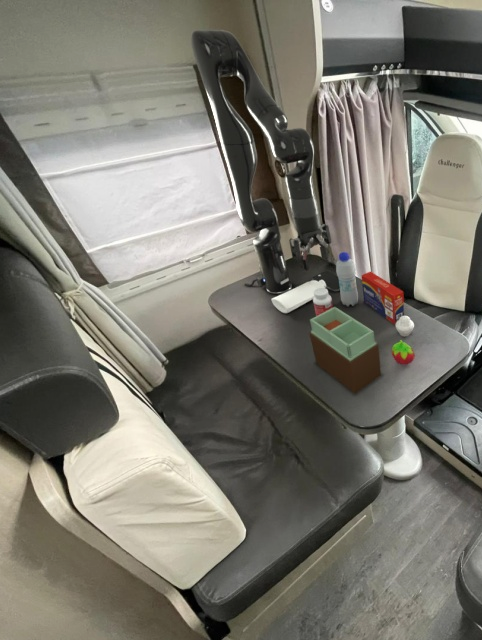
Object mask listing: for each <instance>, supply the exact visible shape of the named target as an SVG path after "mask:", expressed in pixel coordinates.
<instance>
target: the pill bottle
mask: <svg viewBox="0 0 482 640" xmlns="http://www.w3.org/2000/svg"><path fill="white" fill-rule="evenodd" d="M314 296H315V297H314V298H313V299H312V302H313V306H314V311H315V312H314V313H315V317H316V316H318V315H320V314H322V313H324V312H326V311H327V310H329V309H331V308H333V307H334V305H333V299H332V296H331V295H330V294H329V289H328V288H318V289H316V290H315V291H314Z"/></svg>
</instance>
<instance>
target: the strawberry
mask: <svg viewBox="0 0 482 640" xmlns="http://www.w3.org/2000/svg"><path fill="white" fill-rule="evenodd" d="M391 355H392V358H393V360H394V361H395V362H396V363H397V364H399V365H402V366H403V365H404V366H407V365H409V364H411V363H412V362H413V361H414V359H415V352H414V350H413V348H412V347H411V346H410V345H409V344H407V343H406V342H405V341H404V342H403V340H401V339H400V340H399V342H396V343H394V344H393V345H392V348H391Z"/></svg>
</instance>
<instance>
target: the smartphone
mask: <svg viewBox="0 0 482 640" xmlns="http://www.w3.org/2000/svg"><path fill="white" fill-rule="evenodd" d="M313 280H315V281H318V282H319V281H320V280H324V282H325V283H326V289H327V290H330V291H332V292H340V285H339V279H338V276H337V275H334V274H332V273H330V272H328V271H323V272H321V273H319V274H317V275H314V276H313V277H312V278H311V281H313Z"/></svg>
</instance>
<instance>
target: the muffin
mask: <svg viewBox="0 0 482 640" xmlns="http://www.w3.org/2000/svg"><path fill="white" fill-rule="evenodd" d="M394 326H395V329H396V331H397V332H398V334H399V335H400V336H402V337H408V336H409V335H411V333H412V332H413V330H414V328H415V323H414V321H413V320H412V319H411V318H410V316H408V315H404V316H401V317H400V319H399V320H398V321H397V322H396V325H395V324H394Z"/></svg>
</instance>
